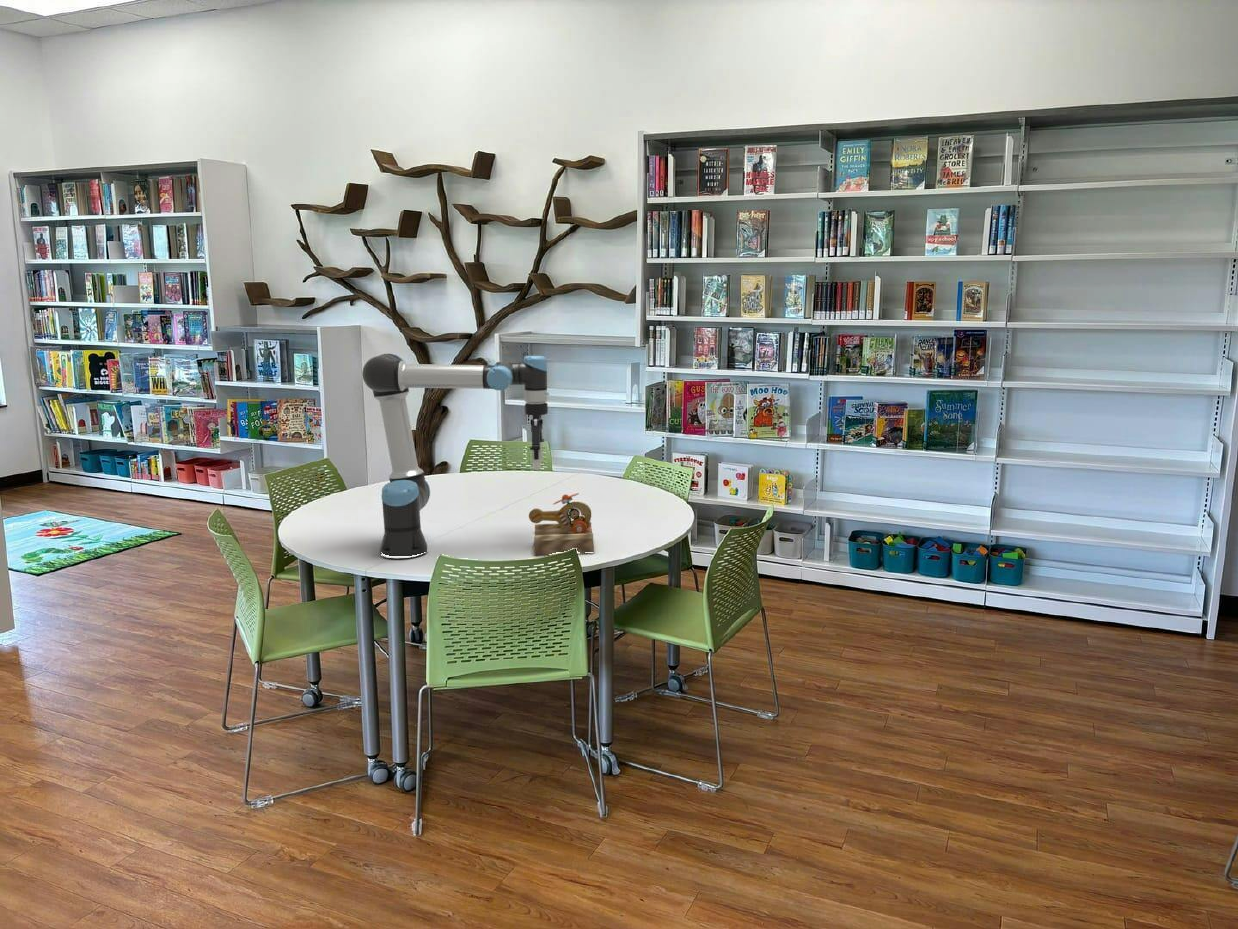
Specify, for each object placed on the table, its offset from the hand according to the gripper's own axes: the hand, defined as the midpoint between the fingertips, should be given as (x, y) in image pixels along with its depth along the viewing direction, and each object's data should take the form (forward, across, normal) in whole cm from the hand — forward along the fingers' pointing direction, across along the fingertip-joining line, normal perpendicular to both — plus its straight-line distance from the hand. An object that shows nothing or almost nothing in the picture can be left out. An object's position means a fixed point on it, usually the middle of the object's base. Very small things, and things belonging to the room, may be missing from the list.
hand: (537, 465), depth 317 cm
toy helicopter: (+21, -11, -9) cm, 25 cm away
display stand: (+26, -11, -9) cm, 30 cm away
